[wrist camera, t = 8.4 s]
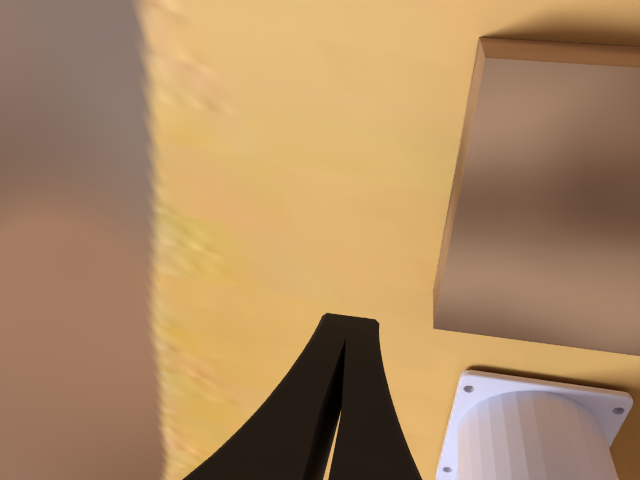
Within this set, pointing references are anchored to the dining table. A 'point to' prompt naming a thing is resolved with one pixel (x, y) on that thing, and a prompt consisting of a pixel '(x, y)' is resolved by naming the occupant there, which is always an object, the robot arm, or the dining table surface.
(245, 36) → the dining table surface
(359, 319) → the robot arm
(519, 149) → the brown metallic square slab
